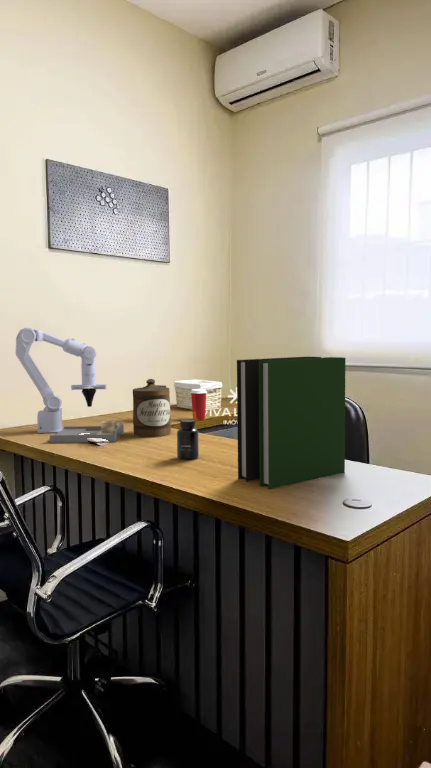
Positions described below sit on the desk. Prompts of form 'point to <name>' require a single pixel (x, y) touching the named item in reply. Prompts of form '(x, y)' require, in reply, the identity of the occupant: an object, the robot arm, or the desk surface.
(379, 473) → the desk surface
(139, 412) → the wooden container
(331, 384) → the upright hardcover books
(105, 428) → the birch block
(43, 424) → the robot arm
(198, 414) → the paper cup
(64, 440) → the grey tray
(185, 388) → the storage basket
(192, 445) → the supplement bottle
